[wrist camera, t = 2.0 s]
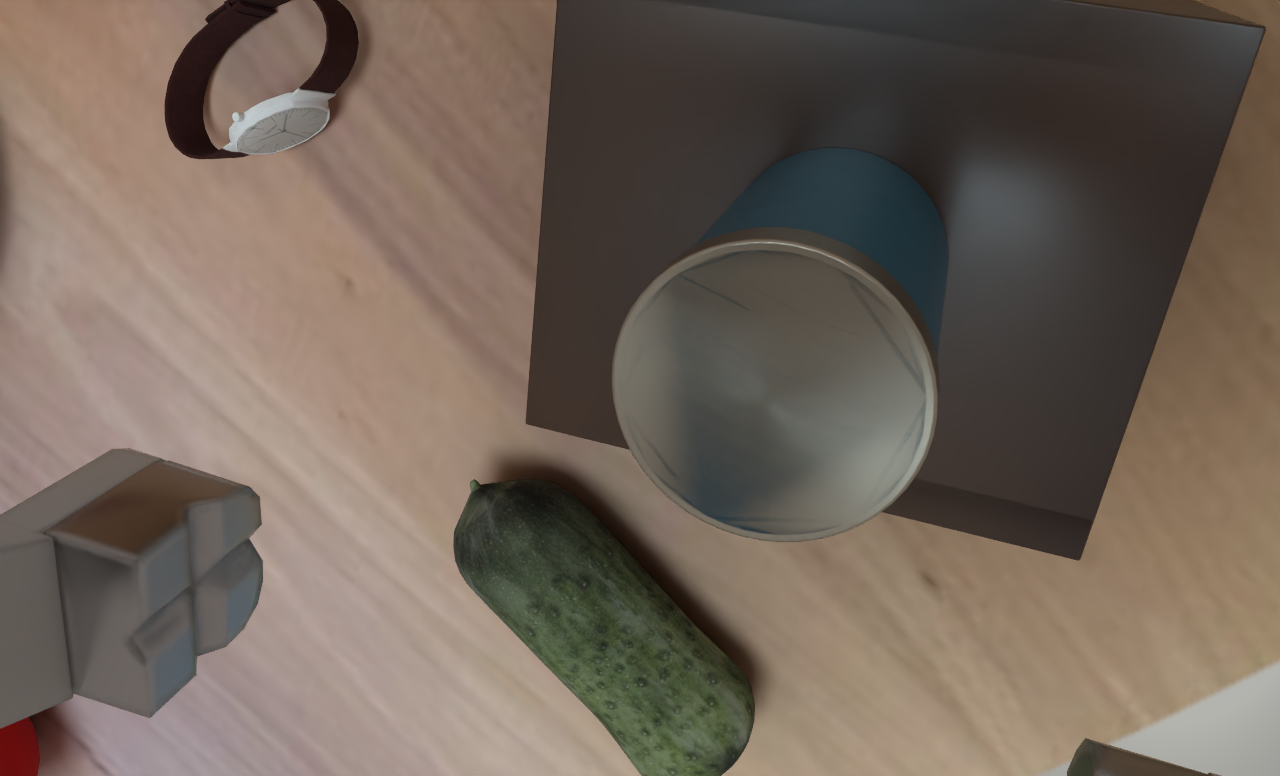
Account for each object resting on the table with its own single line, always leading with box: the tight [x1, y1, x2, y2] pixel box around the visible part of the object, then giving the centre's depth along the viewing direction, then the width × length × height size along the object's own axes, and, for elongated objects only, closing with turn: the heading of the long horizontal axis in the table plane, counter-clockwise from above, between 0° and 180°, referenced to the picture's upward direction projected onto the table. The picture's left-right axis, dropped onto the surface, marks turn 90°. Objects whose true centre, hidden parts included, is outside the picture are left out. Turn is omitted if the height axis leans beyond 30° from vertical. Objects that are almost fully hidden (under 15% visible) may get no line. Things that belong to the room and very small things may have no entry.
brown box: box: [526, 0, 1266, 560], centre depth 28 cm, size 14×12×9 cm
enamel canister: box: [612, 148, 949, 542], centre depth 20 cm, size 5×5×8 cm
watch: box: [165, 0, 359, 159], centre depth 34 cm, size 8×5×4 cm, turn 123°
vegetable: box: [454, 479, 755, 776], centre depth 38 cm, size 14×5×5 cm, turn 45°
